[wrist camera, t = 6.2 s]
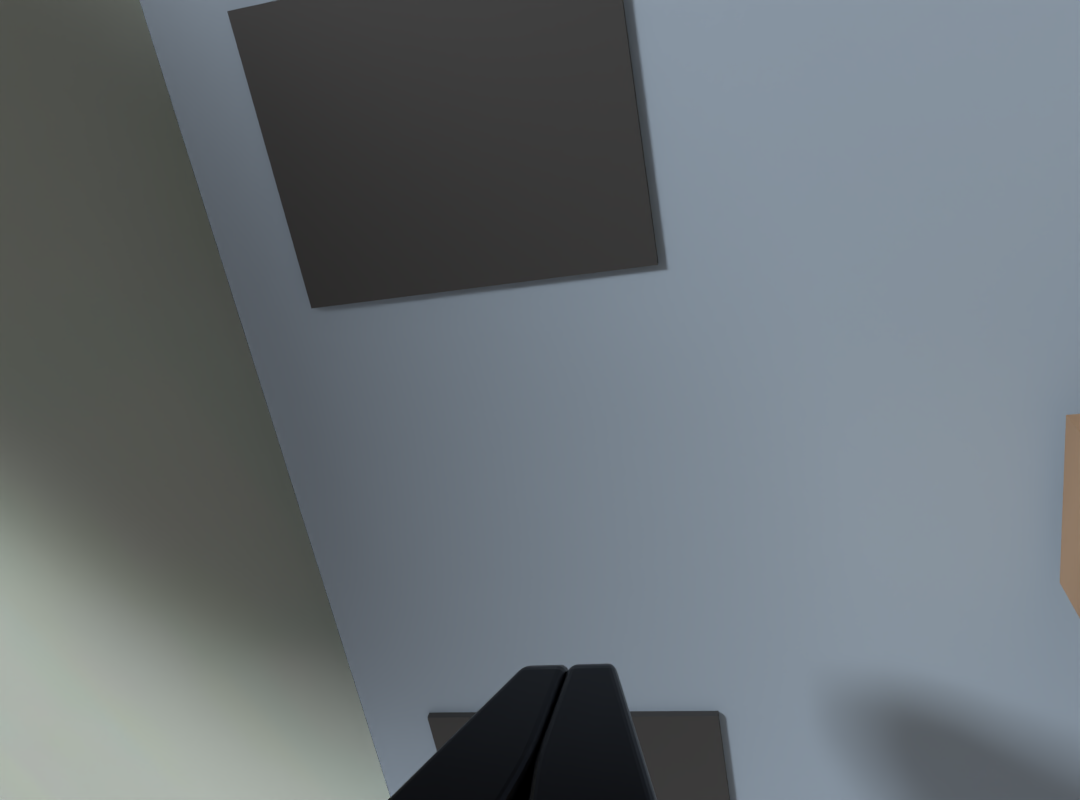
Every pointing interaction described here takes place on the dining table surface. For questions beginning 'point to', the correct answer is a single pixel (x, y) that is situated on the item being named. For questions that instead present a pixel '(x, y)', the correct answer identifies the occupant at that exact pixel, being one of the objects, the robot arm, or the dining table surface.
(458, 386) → the pale blue flat board
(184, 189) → the dining table surface
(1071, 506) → the tan u-shaped piece
